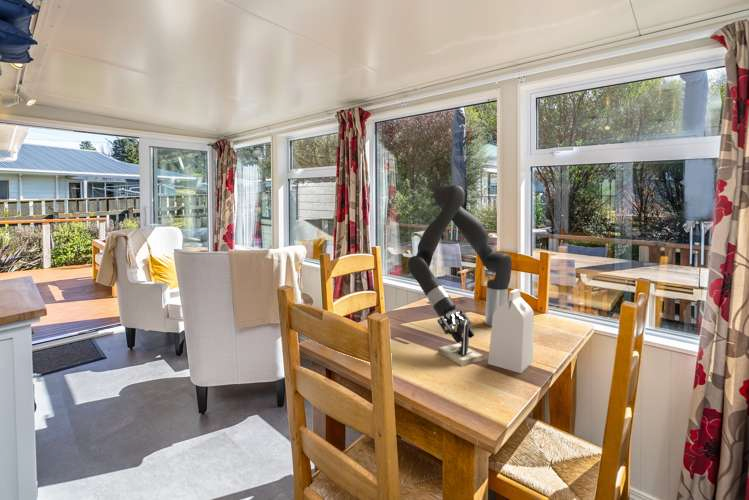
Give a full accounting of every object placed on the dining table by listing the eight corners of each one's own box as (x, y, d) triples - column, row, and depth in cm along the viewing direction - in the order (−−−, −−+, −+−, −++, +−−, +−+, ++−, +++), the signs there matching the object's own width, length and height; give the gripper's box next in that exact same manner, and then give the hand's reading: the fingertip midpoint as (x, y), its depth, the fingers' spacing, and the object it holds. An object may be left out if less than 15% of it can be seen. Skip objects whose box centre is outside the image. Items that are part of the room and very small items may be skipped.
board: (458, 348, 150) (458, 342, 150) (483, 360, 139) (483, 354, 138) (438, 352, 145) (438, 347, 145) (462, 365, 134) (462, 360, 134)
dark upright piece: (457, 347, 144) (459, 317, 143) (468, 349, 143) (469, 319, 142) (454, 354, 138) (456, 323, 136) (465, 356, 137) (467, 324, 135)
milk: (501, 353, 145) (504, 285, 142) (532, 361, 138) (537, 290, 134) (487, 363, 136) (491, 291, 132) (521, 373, 129) (525, 296, 125)
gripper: (435, 298, 138) (461, 339, 132) (458, 292, 148) (483, 329, 142) (423, 310, 143) (448, 349, 136) (446, 303, 153) (470, 339, 146)
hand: (466, 339), depth 139 cm, fingers closed on dark upright piece, 7 cm apart
